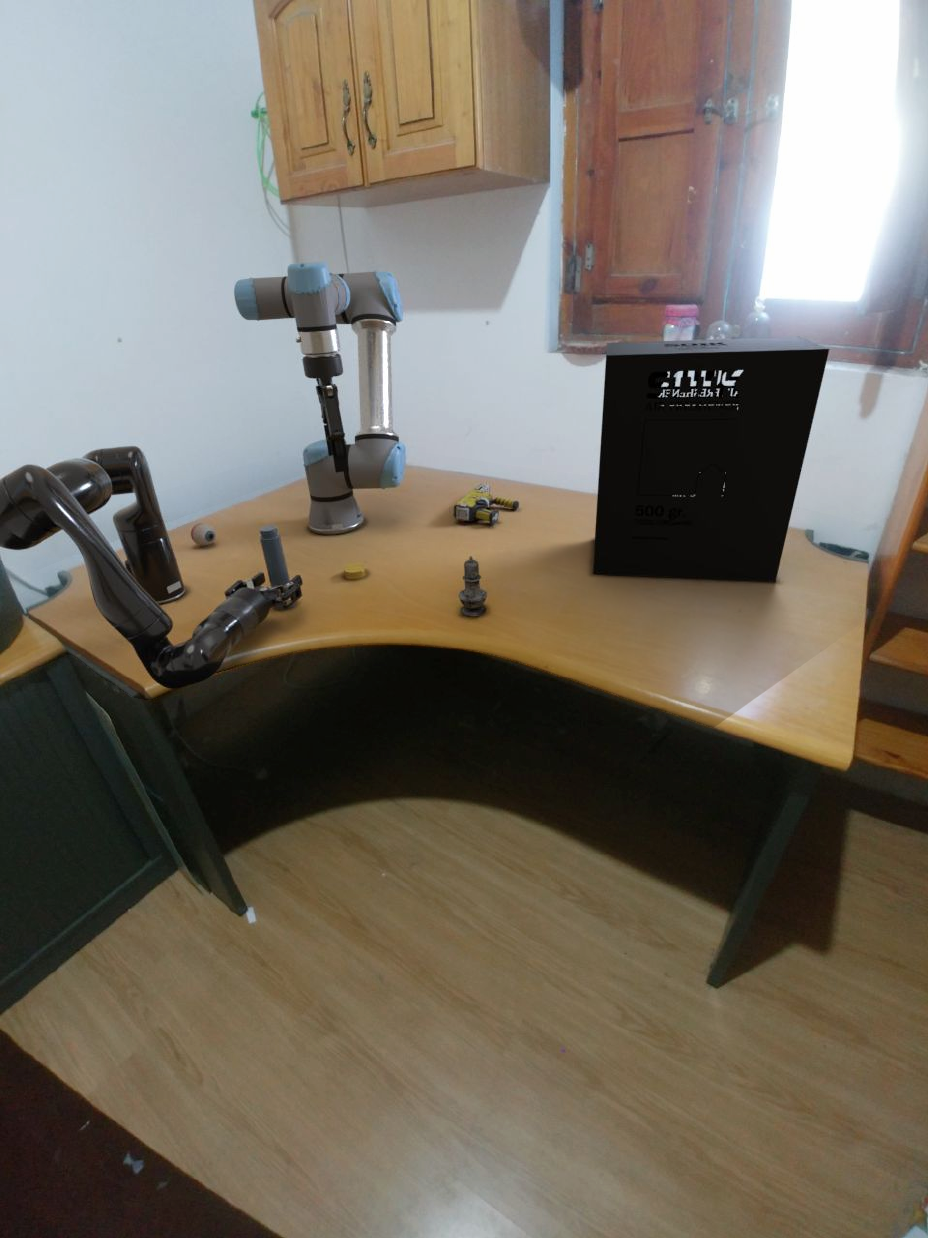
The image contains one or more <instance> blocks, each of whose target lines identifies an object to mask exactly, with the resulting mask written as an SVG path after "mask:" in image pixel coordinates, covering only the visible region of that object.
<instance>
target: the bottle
mask: <svg viewBox="0 0 928 1238" xmlns="http://www.w3.org/2000/svg"><path fill="white" fill-rule="evenodd" d="M258 532H259V538H258V539H259V543H260V546H261V550H262V554H263V558H264V563H265V568H266V571H267V575H268V578H269V579H268V580H269V584H270V586H273V585H276V584H281V585H283V584H286V583H289V581H290V580H291V578H290V574H289V569H288V564H287V561H286V560H287V559H286V556H285V551H284V547H283V542H282V538H281V533H279V532H278V528H277V526H276V525H272V524H271V525H270V524H268V525H264V526H261V527H260V528H259V531H258ZM288 590H289V589H288V588H286V589H284V592H285V593H286V592H287V591H288ZM275 592H276V595H277V598H278V597H279V596H280V595H279V591H278V589H277V590H275ZM295 605H296V602H295V603H294V604H293V605H292V606H290V607H289V608H287V609H285V608H283V605H282V604H277V605H276V606H275V608H276V609H277V610H279V611H285V610H289V609H292V608H293V607H294V606H295Z"/></svg>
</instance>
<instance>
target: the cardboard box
mask: <svg viewBox="0 0 928 1238" xmlns="http://www.w3.org/2000/svg"><path fill="white" fill-rule="evenodd" d="M605 351H606V352H605V367H604V369H605V370H604V383H603V384H604V385H603V399H602V400H603V401H602V415H601V431H600V433H601V434H600V448H599V465H598V481H597V497H596V511H595V512H596V514H595V529H594V531H595V532H594V547H593V548H594V550H593V566H592V575H608V576H628V577H629V576H631V577H654V578H655V577H656V578H675V579H676V578H677V579H678V578H679V579H701V580H702V579H703V580H724V581H725V580H726V581H747V582H770V583H776V582H777V577H778V573H779V568H780V565H781V560H782V556H783V552H784V547H785V543H786V538H787V534H788V531H789V530H788V529H789V525H790V521H791V518H792V517H791V516H792V514H793V513H792V512H793V508H794V504H795V500H796V496H797V491H798V488H799V482H800V477H801V474H802V470H803V465H804V460H805V456H806V453H807V448H808V444H809V440H810V435H811V431H812V427H813V422H814V418H815V414H816V409H817V405H818V400H819V397H820V391H821V387H822V383H823V380H824V379H823V378H824V375H825V370H826V366H827V363H828V362H827V361H828V358H829V353H830V348H828V347H826V346H824V345H820V344H819V343H815V342H813V341H811V340H808V339H805V338H803V337H800V336H780V337H778V336H775V337H749V338H748V337H747V338H745V337H744V338H721V339H720V338H717V339H716V338H715V339H689V340H688V339H687V340H684V339H683V340H657V341H655V340H654V341H628V342H627V341H626V342H624V341H623V342H607V343H606V349H605ZM720 371H721V372H720ZM737 371H742V372H740V374H739V375H734V374H735V373H736V372H737ZM678 372H682V376H681V377H680V382H679V385H677V386H676V382H677V377H676V374H677V373H678ZM689 372H694V373H693V382H695V385H691V384H692V376H689ZM702 372H705V375H704V376H702V374H703V373H702ZM719 375H720V379H719ZM724 375H725V377H724ZM723 378H724V382H734V383H733V385H725V384H723ZM705 382H710V385H704V384H705ZM664 383H665V384H666V383H667V386H663V385H664Z"/></svg>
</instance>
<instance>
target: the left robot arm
mask: <svg viewBox="0 0 928 1238" xmlns="http://www.w3.org/2000/svg"><path fill="white" fill-rule="evenodd" d="M127 494H134V495H135V496H134V497H135V500H134V501H133V502H132V503H130V504H129V505H127V506H124V507H122V508H120V509H119V510H117V511H115V513H113V515H112V522H113V525H114V527H115V530H116V533H117V535H118V538H119V541H120V544H121V546H122V549H123V552H124V555H125V557H126V559H125V560H124V562H123V561H122V560H121V558H120V557H119V556H118V554H117V553H116V551H115V550H114V548H113V547H112V545H111V544H110V543H109V541H108V540H107V538H106V537H105V535H104V534H103V533H102V531H101V530H100V528H99V527H98V526H97V524H95V521H93V519H92V518H91V516H90V515H91V514H93V513H95V512H97V511H99V510H101V509H102V508H103V507H105V506H106V505H107V504H108V503H109V501H110V500H111V498H112V496H119V495H127ZM60 531H64V533H66V534H67V536H68V537H69V538H70V539H71V541H73V543H74V544H75V546H76V547H77V549H78V551H79V552H80V555H81V556H82V558H83V562H84V565H85V568H86V572H87V575H88V580H89V585H90V591H91V594H92V598H93V601H94V603H95V607H96V608H97V611H99V613H100V614H101V616H102V617H103V618H104V619H105V620H106V622H108V624H110V626H112V627H113V628H114V630H116V631H117V632H118V633H119V634H120V635H121V636H122V637H123V638H124V639H125V640H126V641H127V642H128V643H129V644H131V646H132V648H133V650H134V651H135V654H136V656H137V657H138V660H139V661H140V663H141V664H142V665H143V667H144V669H145V670H146V672H147V673H148V675H149V677H151V679H152V680H153V681H154V682H155V683H157V684H159V685H160V686H162V687H164V688H166V689H168V690H169V689H170V690H179V689H182V688H185V687H188V686H191V685H195V684H197V683H201V682H204V681H205V680H207V679H209V678H211V677H212V676H213V675H214V674H215V673H217V672H218V670H219V669H220V668H221V666H222V665H223V663H224V661H225V659H226V658H227V656H228V654H229V652H231V651H232V649H234V648H235V647H236V646H237V645H238V644H239V643H240V642H241V641H242V640H244V639H245V638H247V637H248V636H249V635H250V634H251V633H252V632H253V631H255V629H257V627H258V626H259V625H260V624H262V622H264V621H265V620H266V619H267V617H268V615H269V613H270V611H271V608H274V607H276V605H277V604H282V605H283V608H285V610H288V609H287V608H289V607H290V606H292V605H293V604H294V603H295V604H296V602H298V600H300V599H301V598H302V597H303V592H302V586H303V584H304V583H303V577H302V576H301V574H295V576H293V577H292V578H290V581H289V583H286V584H283V585H281V584H276V585H273V586H271V585H269V586H263V584H264V583H266V576H265V573H264V572H258V573H257V574H255V575H254V576H253V577H252V578H248V579H246V580H245V581H243V579H238V580H236V581H235V582H234V583H233V584H232V585H231V586H230V587H228V588H227V589H226V590H225V591H224V592H223V593H224V596H225V599H224V601H222V602H221V603H220V604H219V605H218V606H216V607H215V609H214V610H213V611H212V612H211V613H210V614H209V615H208V616H207V617H205V618H204V619H203V620H201V622H200V623H198V624H197V626H196V627H195V628H194V630H192V631H193V632H192V636H191V637H190V638H189V639H187V640H185V641H183V642H180V643H177V644H173V643H172V642H171V641H170V639H169V637H168V635H169V634H170V633H171V632H172V630H173V627H174V622H173V619H172V617H171V616H170V615H169V614H168V612H166V611H165V610H164V608H163V607H162V606H161V605H163V604H167V603H168V604H169V603H171V602H173V601H176V600H179V599H180V598H181V597H183V596H184V595H185V594H186V592H187V589H186V586H185V584H184V581H183V577H182V574H181V571H180V567H179V565H178V562H177V558H176V555H175V552H174V549H173V546H172V543H171V540H170V536H169V533H168V530H167V528H166V524H165V521H164V518H163V515H162V511H161V507H160V502H159V500H158V495H157V492H156V489H155V486H154V481H153V477H152V474H151V469H150V465H149V462H148V460H147V457H146V455H145V453H144V451H142V449H141V448H140V447H139V446H137V445H124V446H114V447H113V446H112V447H103V448H96V449H94V450H93V449H92V450H90V451H89V452H86V453H85V454H84V455H83V456H81V457H80V458H79V457H76V458H69V459H65V460H62V461H59V462H55V463H54V464H52V465H50V466H48V467H46V468H45V467H43V466H40V465H37V464H31V463H29V464H24V465H22V466H20V467H18V468H16V469H14V470H13V471H12V472H10V473H8V474H7V475H5V476H3V477H0V548H3V549H6V550H13V551H24V550H29V549H31V548H33V547H36V546H38V545H40V544H41V543H42V542H44V541H46V540H47V539H49V538H50V537H53V536H54V535H55V534H57V533H59V532H60ZM286 588H288V589H289V590H288V591H287V592H286V593H285V592H284V589H286ZM277 589H278V591H279V595H280V596H279V597H278V598H277V595H276V592H275V590H277ZM289 609H290V608H289Z"/></svg>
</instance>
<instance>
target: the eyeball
mask: <svg viewBox="0 0 928 1238" xmlns="http://www.w3.org/2000/svg"><path fill="white" fill-rule="evenodd" d="M216 535H217V534H216V530H215V529H214V527H213V526H212V525H211V524H208V523H206V522H200V523H199V522H198V523H197V524H195V525H193V527H192V528H191V530H190V536H191V540H192V541H193V542H194V543H195V544H196V545H199V546H201V547H207V546H210V545H211V544H213V543H214V541H216V538H217V537H216Z"/></svg>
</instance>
